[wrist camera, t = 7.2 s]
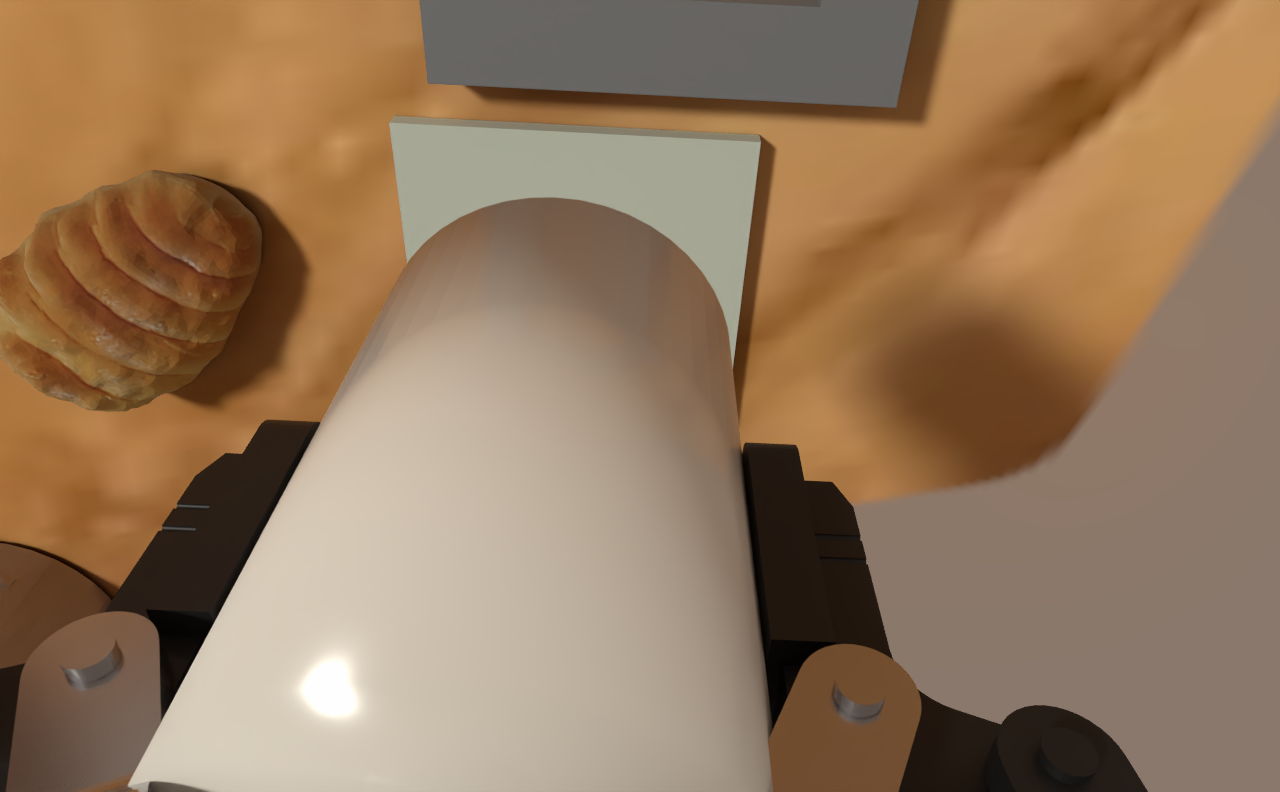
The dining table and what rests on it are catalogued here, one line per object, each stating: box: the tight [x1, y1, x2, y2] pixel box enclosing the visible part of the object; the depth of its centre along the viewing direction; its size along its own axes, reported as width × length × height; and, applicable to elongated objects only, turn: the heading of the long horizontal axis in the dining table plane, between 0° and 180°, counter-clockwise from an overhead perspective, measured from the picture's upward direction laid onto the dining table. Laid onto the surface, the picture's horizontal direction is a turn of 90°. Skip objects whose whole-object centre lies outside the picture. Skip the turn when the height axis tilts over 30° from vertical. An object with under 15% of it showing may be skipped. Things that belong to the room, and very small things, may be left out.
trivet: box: [389, 116, 761, 368], centre depth 30 cm, size 11×11×1 cm
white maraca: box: [128, 197, 773, 792], centre depth 13 cm, size 12×6×9 cm, turn 178°
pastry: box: [0, 170, 262, 411], centre depth 29 cm, size 9×7×4 cm
